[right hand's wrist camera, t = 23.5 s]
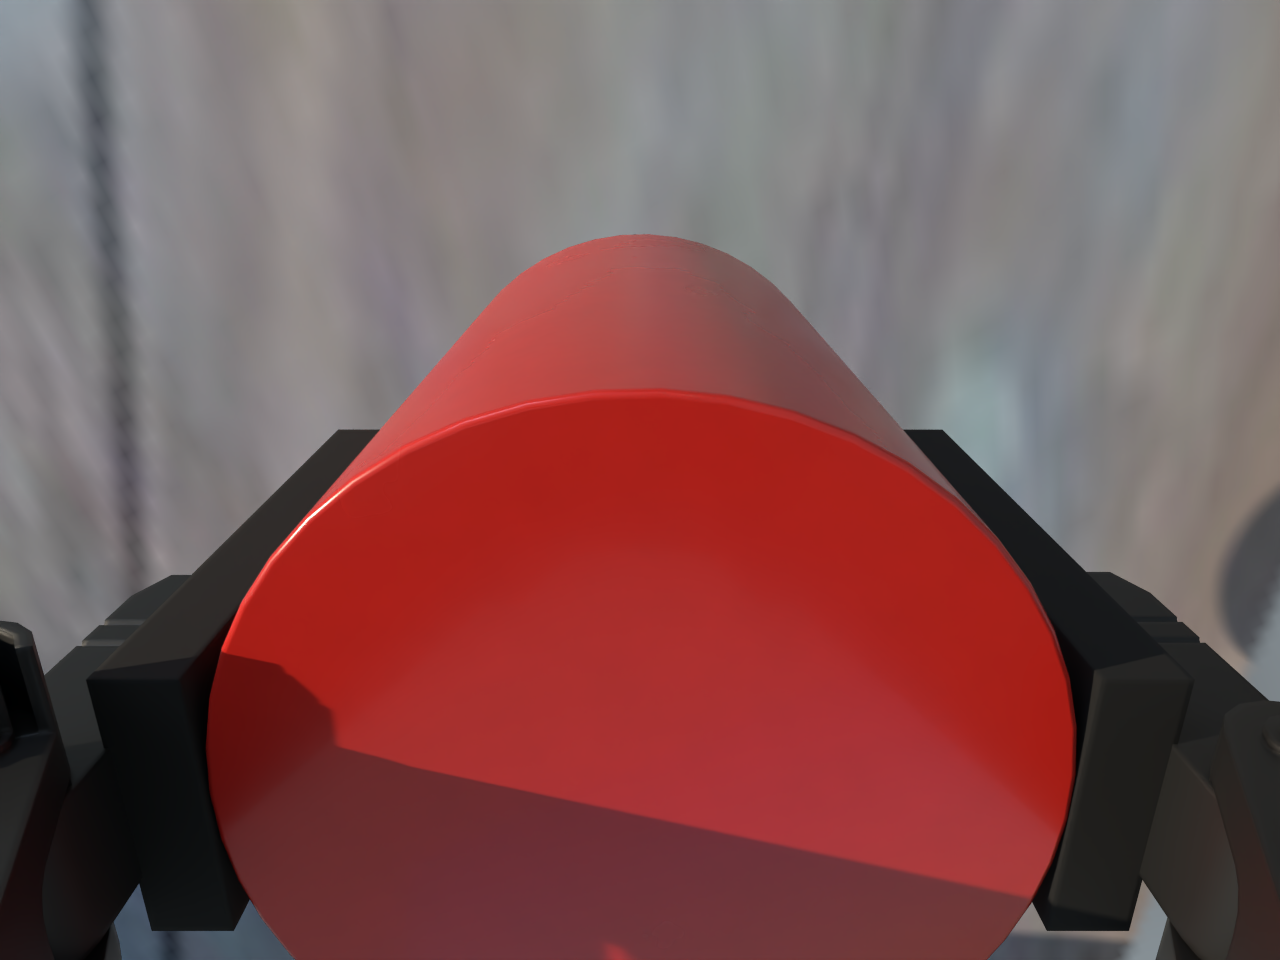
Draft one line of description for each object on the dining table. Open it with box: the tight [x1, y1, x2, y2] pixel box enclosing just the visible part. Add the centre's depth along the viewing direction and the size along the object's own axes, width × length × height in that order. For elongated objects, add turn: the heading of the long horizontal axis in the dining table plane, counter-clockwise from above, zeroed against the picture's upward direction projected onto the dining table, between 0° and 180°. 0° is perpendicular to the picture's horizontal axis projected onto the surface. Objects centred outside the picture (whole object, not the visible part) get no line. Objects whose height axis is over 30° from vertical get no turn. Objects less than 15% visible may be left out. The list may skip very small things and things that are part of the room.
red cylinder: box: [206, 234, 1077, 960], centre depth 13 cm, size 8×8×10 cm
